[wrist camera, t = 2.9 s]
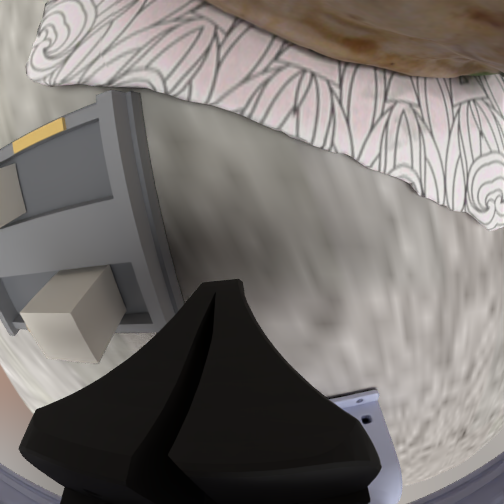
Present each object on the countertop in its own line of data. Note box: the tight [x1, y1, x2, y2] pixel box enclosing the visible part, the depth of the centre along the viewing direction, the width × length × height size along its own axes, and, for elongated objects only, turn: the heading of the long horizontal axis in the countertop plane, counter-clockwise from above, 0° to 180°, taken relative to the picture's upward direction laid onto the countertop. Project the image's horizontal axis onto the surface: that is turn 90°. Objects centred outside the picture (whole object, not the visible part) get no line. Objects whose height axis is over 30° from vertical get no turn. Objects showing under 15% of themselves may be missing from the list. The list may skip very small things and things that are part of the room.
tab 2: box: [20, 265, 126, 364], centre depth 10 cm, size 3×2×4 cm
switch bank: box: [0, 90, 184, 336], centre depth 10 cm, size 12×10×2 cm
